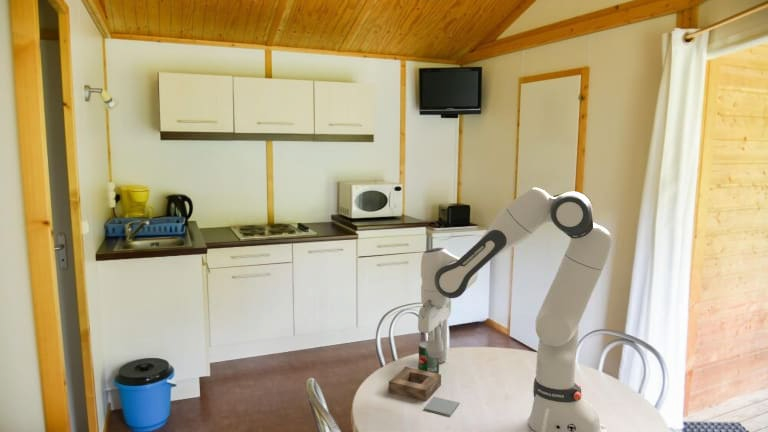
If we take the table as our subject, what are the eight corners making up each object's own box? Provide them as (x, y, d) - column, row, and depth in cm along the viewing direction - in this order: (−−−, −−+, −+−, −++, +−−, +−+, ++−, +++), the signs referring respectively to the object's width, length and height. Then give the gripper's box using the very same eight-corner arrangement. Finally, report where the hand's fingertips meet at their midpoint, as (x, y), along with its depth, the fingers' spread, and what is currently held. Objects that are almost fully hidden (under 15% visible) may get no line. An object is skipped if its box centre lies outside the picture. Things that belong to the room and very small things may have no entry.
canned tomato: (413, 371, 192) (414, 344, 190) (428, 366, 197) (428, 339, 196) (429, 378, 186) (429, 350, 185) (443, 372, 191) (444, 344, 190)
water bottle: (441, 365, 197) (442, 303, 194) (424, 360, 202) (425, 300, 199) (452, 358, 205) (454, 298, 202) (436, 354, 209) (437, 295, 206)
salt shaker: (442, 359, 164) (442, 320, 163) (425, 358, 165) (424, 320, 164) (444, 353, 170) (444, 315, 168) (427, 352, 171) (427, 314, 170)
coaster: (459, 404, 167) (459, 402, 167) (450, 416, 159) (450, 414, 159) (434, 398, 171) (434, 396, 171) (423, 409, 163) (423, 408, 163)
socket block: (440, 385, 181) (441, 374, 180) (426, 401, 168) (426, 390, 168) (405, 377, 187) (405, 366, 187) (388, 392, 175) (388, 381, 174)
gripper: (431, 306, 155) (432, 349, 156) (454, 290, 173) (454, 330, 174) (412, 303, 158) (413, 346, 159) (437, 289, 176) (437, 327, 177)
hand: (435, 337), depth 167 cm, fingers closed on salt shaker, 4 cm apart
